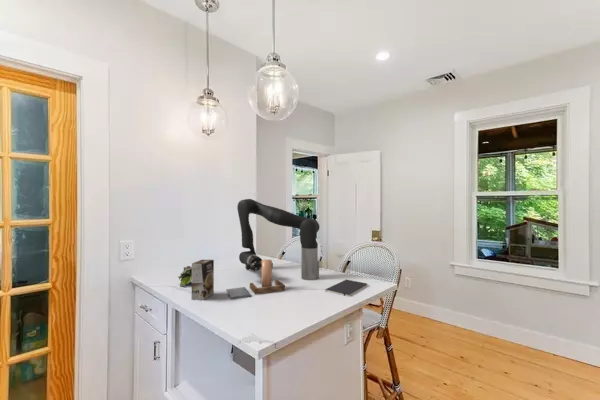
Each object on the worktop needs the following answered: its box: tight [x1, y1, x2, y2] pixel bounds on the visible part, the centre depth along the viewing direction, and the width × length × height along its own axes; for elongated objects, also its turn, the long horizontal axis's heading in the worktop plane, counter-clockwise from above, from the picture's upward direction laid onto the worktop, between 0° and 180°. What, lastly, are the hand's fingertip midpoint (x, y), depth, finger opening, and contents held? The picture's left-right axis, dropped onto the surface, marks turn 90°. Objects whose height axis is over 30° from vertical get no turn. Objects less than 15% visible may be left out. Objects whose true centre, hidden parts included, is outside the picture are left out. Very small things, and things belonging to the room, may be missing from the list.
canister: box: [261, 259, 273, 287], centre depth 143 cm, size 5×5×14 cm
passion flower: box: [177, 265, 192, 287], centre depth 150 cm, size 11×11×12 cm
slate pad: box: [225, 286, 252, 300], centre depth 135 cm, size 9×12×1 cm
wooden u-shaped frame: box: [249, 279, 286, 295], centre depth 142 cm, size 15×10×2 cm
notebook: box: [325, 279, 368, 297], centre depth 144 cm, size 13×2×21 cm
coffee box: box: [190, 259, 215, 301], centre depth 131 cm, size 9×6×16 cm
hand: (262, 268), depth 149 cm, fingers open, 8 cm apart
